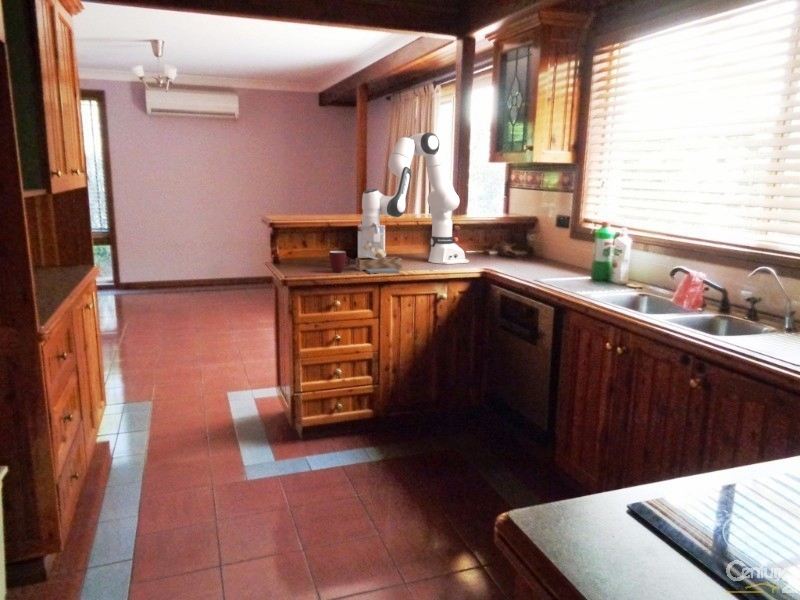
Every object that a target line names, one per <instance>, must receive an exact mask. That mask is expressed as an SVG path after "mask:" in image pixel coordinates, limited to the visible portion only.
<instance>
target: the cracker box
mask: <svg viewBox="0 0 800 600" xmlns="http://www.w3.org/2000/svg"><path fill="white" fill-rule="evenodd" d="M377 227H378V228H379V230H380V243H376V245H375V247H376V248H379V249H382V250H385V251H386V224H380V226H377ZM365 244H367V240H365V239H363V237H362V225H361V223H360V224H358V225H357V258H370V257H367V256H364V255H362V254H361V252H363V253H366V254H369V255H372V256H374V257H386V256H383V255H380V254H377V253H374V252H371V251H368V250H365V249H363V248H364V245H365Z"/></svg>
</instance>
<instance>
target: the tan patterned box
mask: <svg viewBox="0 0 800 600" xmlns="http://www.w3.org/2000/svg"><path fill="white" fill-rule="evenodd" d="M377 258H380V259H373V258H358V257H355V269H356V268H357V269H358V270H357V269H356V270H357V271H359V270H360V271H359V272H364V271H363V270H366V269H385V268H395V269H397V270H399V271H401V270H400V269H402V270H403V259H402V258H401V257H398V256H385V257H377ZM383 258H385V259H383Z"/></svg>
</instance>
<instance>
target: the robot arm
mask: <svg viewBox="0 0 800 600" xmlns="http://www.w3.org/2000/svg"><path fill="white" fill-rule="evenodd" d="M415 156H416V157H417V156H419V157H420V156H423V158H424V159H425V167H426V173H427V176H428V177H427V178H428V182H429V184H430V185H431V188H432V189H433V191H431V192H429V194H428V195H427V199H426V200H427V204H428V206H429V210H430V216H431V217H430V218H431V223H432V224H431V228H432V229H431V237H430V252H429V257H428V261H427V262H429V263H432V264H433V263H434V264H442V265H453V264H467V263H470V260H469V259H467V258H466V254H465V251H464V249H463V248H461V247H460V246H459V245H458V244H457V243H456V242H458V241H459V238H458V237H456V236H455V237H454V236H453V225H454V224H453V220H452V218H451V213H450V212H452V211H455V210H456V209H458V207H459V205H460V197H459V195H458V194H457V192H456V191H455V188H454V185H453V183H452V180H451V178H450V173H449V168H448V162H447V158H446V155H445V151H444V148H443V146H442V145H441V144H440V140H439V138H438V136H437V135H436V134H435V133H432V132H421V133H415V134H412V135H409V136H405V137H404V136H403V137H401V138H399V139H398V140H397V142H396V143H395V145H394V147H393V148H392V151H391V154H390V156H389V159H388V169H389V170H390V173H392V174H393V175H395V176H396V177H397V178H398V182H397V186H396V191H395V194H394V195H385V194H383V193H381V192H380V191H379V189H377V188H371V189H366V190H365V191H363V193H362V198H361V209H362V216H361V220H360V224H361V225H362V237H363V239H365V240H367V245H370V246H371V251H375V245H376V243H380V230H379V228H378V227H377V226H380V225H381V216H387V217H388V216H389V217H394V218H399V217H401V216H403V215H404V213H405V212H406V208H407V198H408V194H409V190H410V185H411V181H412V170H411V164H412V161H413V158H414V157H415Z"/></svg>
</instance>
